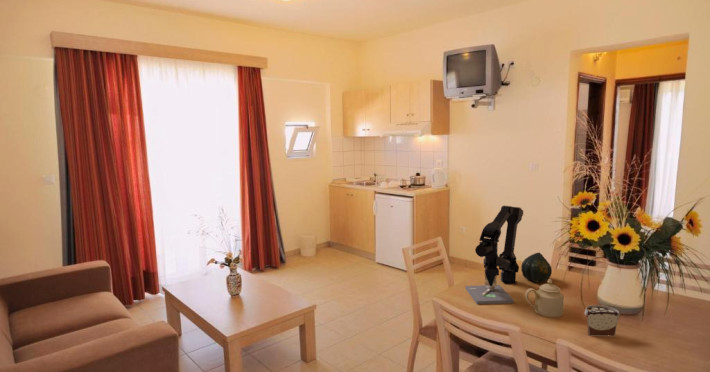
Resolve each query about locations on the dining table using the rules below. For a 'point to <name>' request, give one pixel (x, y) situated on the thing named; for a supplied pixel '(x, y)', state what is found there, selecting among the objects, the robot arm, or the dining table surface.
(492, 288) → the tuning peg
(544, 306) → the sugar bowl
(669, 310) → the dining table surface
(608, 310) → the food container
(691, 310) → the dining table surface
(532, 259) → the squash
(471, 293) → the tuner dial board
